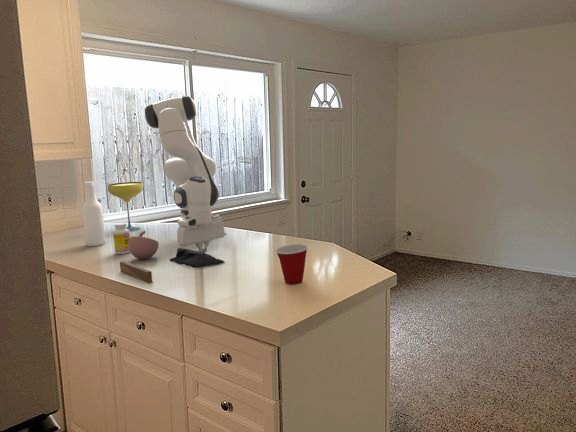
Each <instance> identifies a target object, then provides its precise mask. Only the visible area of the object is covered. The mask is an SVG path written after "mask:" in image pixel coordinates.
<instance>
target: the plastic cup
mask: <svg viewBox="0 0 576 432" xmlns="http://www.w3.org/2000/svg"><path fill="white" fill-rule="evenodd" d="M308 248H309V245H307V244H304V243H294V244H292V243H291V244H288V245H282V246H280V247H277V248H275V253H276V255H277V256H278V259H279V262H280V267H281V272H282V274H283V280H284V283H285V284H286V285H291V286H294V285H295V286H297V285H301V284H302V283H303V280H304V273H305V265H306V258H307V257H306V256H307V251H308Z"/></svg>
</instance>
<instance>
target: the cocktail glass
mask: <svg viewBox="0 0 576 432" xmlns="http://www.w3.org/2000/svg"><path fill="white" fill-rule="evenodd" d="M143 190H144V184H143V182H142V181H127V182H115V183H110V184H108V185H107V191H108V193H109V194H110V195H111V196H114V197H116V198H119V199H121V200H122V201H123V202H124V203H126V209H127V221H128V223H127V226H126V229H128V230H129V232H134V231H135V230H136V231H139V230H140V229H141V227H139V226H132V224H131V219H130V213H129V202H130V201H131V200H132V199H133V198H134V197H136V196H137V195H139V194H140V193H141V192H143Z"/></svg>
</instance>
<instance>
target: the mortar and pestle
mask: <svg viewBox="0 0 576 432" xmlns="http://www.w3.org/2000/svg"><path fill="white" fill-rule="evenodd" d="M146 233H147V231H146V230H143V231H141V232H140V233H139V235H138V236H137V235H133V236H130V238H129V242H128V248H129V251H130V252H129V253H130V254H131V255H132V256H133V257H134V258H135V259H139V260H147V259H150V258H152V257H153V256H154V255H155V254H156V253H157V252H158V249H159V244H160V243H159V241H158V240H156V239H153V238H149V237H146V236H143V235H144V234H146Z"/></svg>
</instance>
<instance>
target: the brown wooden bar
mask: <svg viewBox="0 0 576 432" xmlns="http://www.w3.org/2000/svg"><path fill="white" fill-rule="evenodd" d="M119 269H120V270H119V271H120V273H121V274H125V275H127V276H129V277H132V278H134V279H137V280H139V281H141V282H144V283H147V284H151V283H153V273H152V271H151V270H149V269H146V268H143V267H141V266H138V265H135V264H133V263H131V262H127V261H125V260H121V261H119Z"/></svg>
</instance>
